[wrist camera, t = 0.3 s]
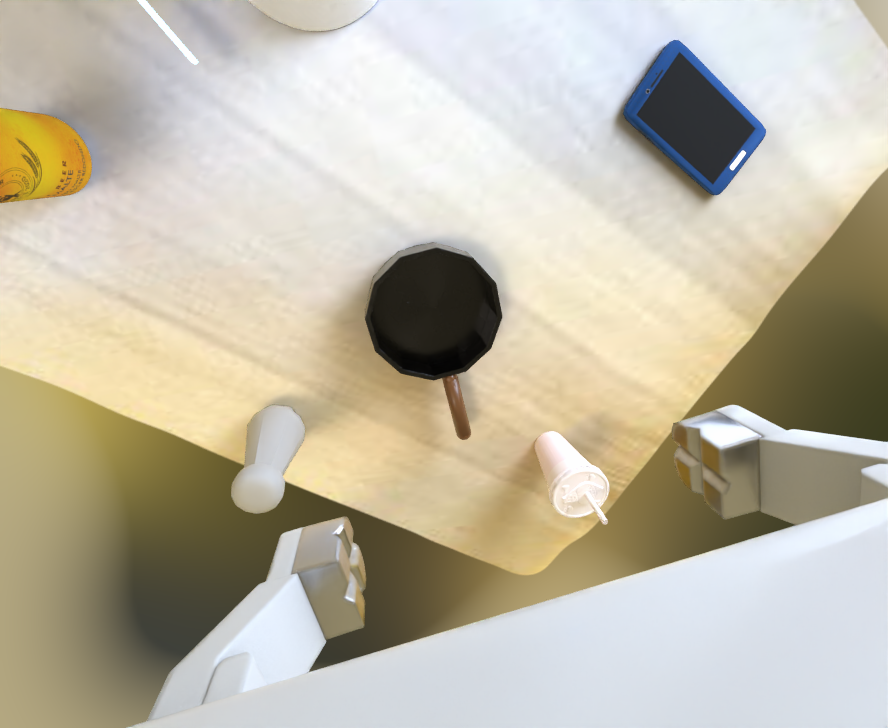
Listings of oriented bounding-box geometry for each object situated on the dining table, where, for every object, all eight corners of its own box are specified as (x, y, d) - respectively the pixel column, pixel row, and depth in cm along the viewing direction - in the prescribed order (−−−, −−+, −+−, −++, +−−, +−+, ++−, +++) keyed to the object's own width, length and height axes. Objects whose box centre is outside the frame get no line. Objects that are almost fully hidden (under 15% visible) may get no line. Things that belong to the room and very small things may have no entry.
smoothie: (576, 456, 59) (634, 537, 47) (528, 472, 59) (573, 557, 46) (569, 415, 57) (627, 488, 44) (519, 431, 57) (563, 509, 44)
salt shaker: (257, 445, 52) (225, 529, 40) (247, 400, 50) (210, 474, 38) (311, 440, 53) (295, 520, 41) (303, 394, 50) (284, 466, 39)
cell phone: (713, 198, 48) (718, 198, 48) (618, 113, 44) (622, 113, 43) (764, 132, 47) (770, 131, 46) (670, 36, 42) (675, 34, 41)
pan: (350, 262, 46) (349, 270, 42) (478, 228, 46) (487, 234, 43) (407, 440, 55) (409, 458, 51) (513, 410, 55) (522, 426, 52)
